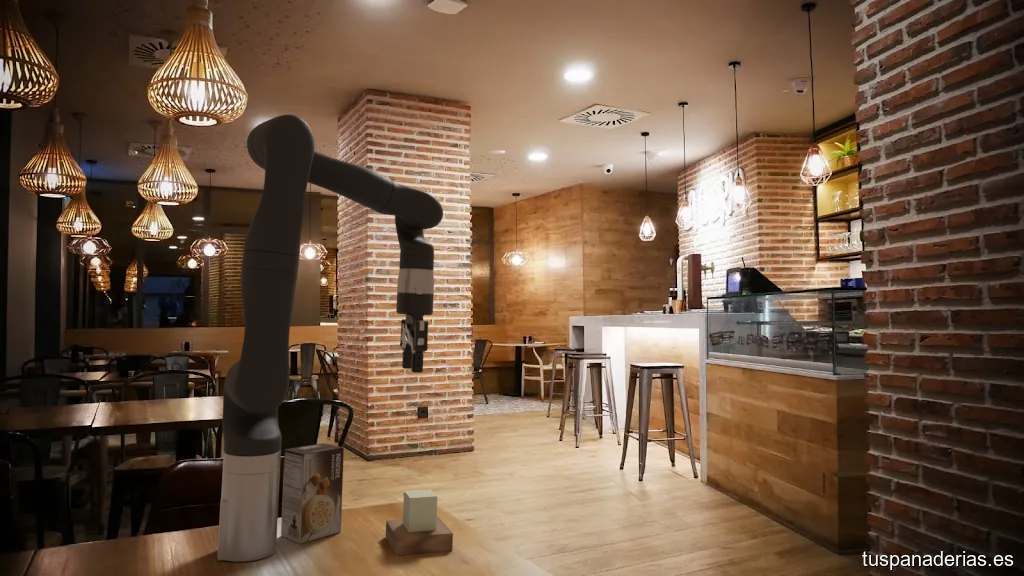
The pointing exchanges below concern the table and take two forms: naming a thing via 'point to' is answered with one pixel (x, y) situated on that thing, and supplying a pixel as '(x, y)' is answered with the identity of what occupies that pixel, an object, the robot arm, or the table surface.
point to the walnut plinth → (418, 538)
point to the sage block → (420, 510)
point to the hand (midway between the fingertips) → (412, 370)
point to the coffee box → (312, 492)
